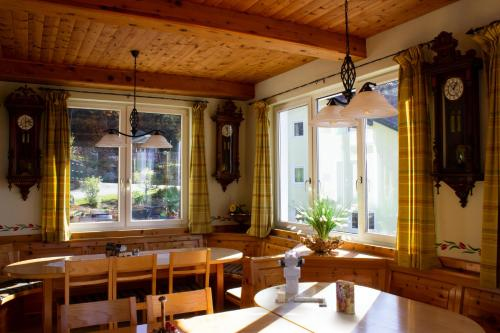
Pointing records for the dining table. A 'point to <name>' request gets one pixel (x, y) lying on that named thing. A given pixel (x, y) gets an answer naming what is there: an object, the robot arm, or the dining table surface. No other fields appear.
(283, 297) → the u clip
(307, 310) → the dining table surface
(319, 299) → the rack
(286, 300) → the brown square backing plate
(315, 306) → the dining table surface
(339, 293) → the candy box
